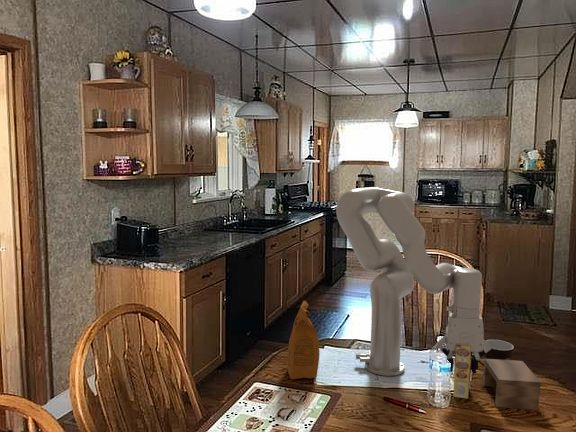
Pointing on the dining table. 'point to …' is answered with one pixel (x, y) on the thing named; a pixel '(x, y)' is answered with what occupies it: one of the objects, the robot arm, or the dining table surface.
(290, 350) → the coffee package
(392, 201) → the robot arm
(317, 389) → the dining table surface
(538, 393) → the walnut shelf
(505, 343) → the coffee mug
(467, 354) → the candy box
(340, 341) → the dining table surface
